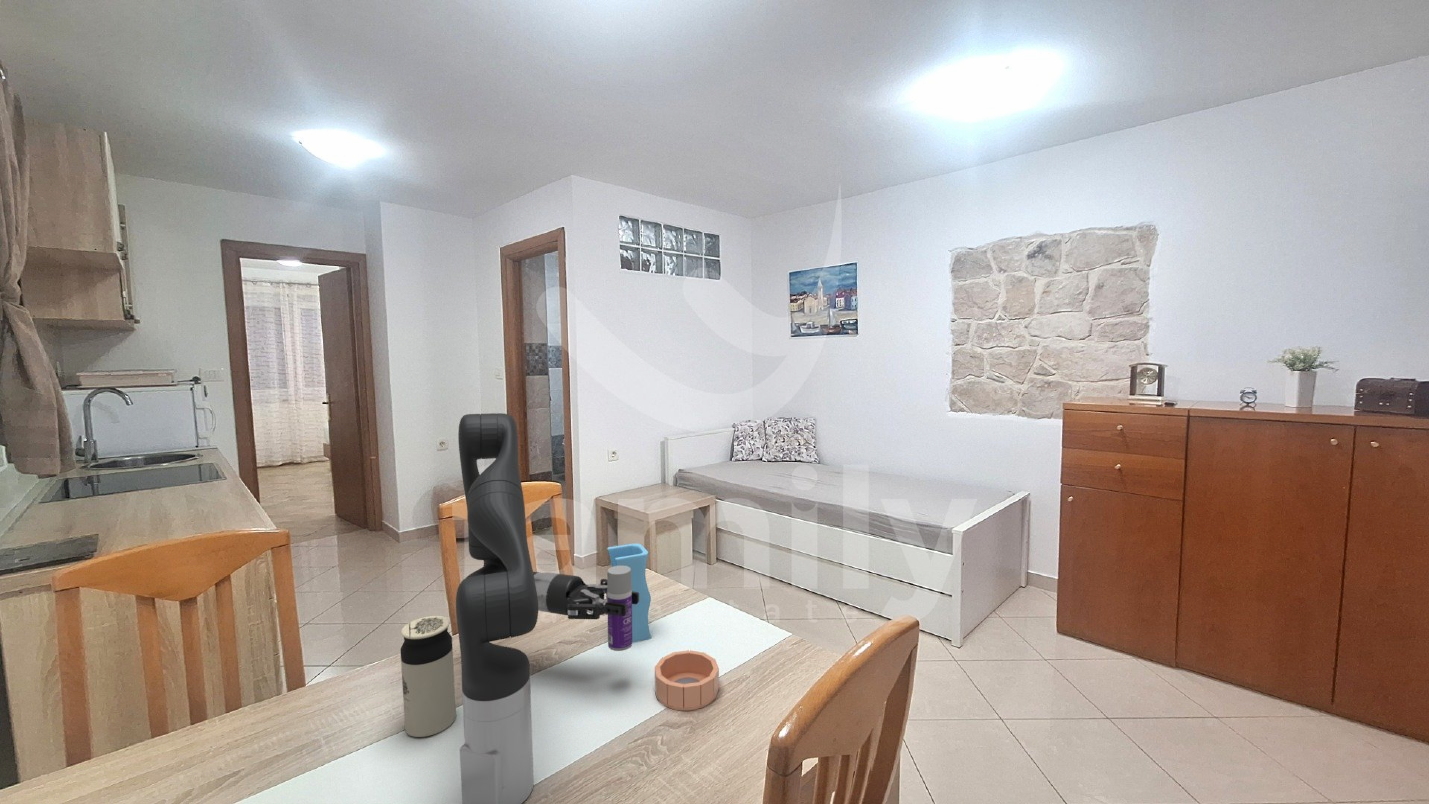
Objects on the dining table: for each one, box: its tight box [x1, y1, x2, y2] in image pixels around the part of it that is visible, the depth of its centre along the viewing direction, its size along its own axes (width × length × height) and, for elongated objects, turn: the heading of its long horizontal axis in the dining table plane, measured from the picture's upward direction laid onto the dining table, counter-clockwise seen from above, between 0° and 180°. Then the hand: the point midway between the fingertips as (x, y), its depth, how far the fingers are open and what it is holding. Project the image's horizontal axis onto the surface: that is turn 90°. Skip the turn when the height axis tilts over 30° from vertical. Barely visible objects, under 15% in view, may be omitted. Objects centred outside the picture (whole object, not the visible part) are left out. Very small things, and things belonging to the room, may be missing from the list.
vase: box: [607, 542, 652, 644], centre depth 126 cm, size 8×8×20 cm
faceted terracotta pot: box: [654, 649, 720, 712], centre depth 106 cm, size 12×12×5 cm
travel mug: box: [400, 615, 457, 738], centre depth 96 cm, size 8×8×18 cm
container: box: [606, 566, 633, 652], centre depth 106 cm, size 5×5×15 cm
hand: (632, 604), depth 105 cm, fingers closed on container, 4 cm apart
